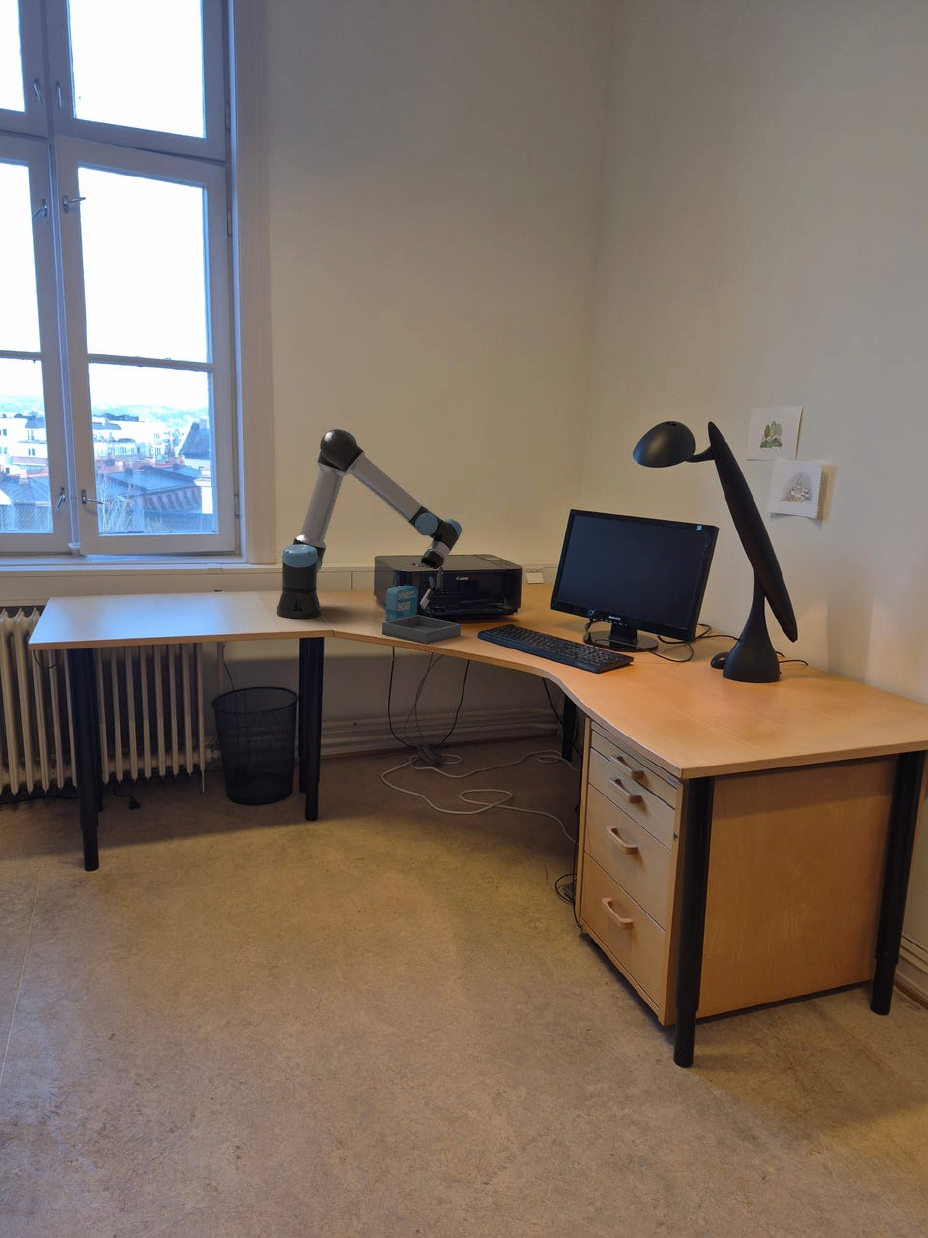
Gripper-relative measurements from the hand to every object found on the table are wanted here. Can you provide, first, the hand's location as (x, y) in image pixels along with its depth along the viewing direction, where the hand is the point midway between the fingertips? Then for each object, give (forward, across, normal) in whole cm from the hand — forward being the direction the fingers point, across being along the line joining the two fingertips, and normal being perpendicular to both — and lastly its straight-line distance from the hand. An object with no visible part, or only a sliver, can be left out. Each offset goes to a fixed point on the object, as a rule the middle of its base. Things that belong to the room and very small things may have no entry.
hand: (406, 603), depth 262 cm
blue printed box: (+6, 0, -3) cm, 7 cm away
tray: (+13, -16, +4) cm, 21 cm away
